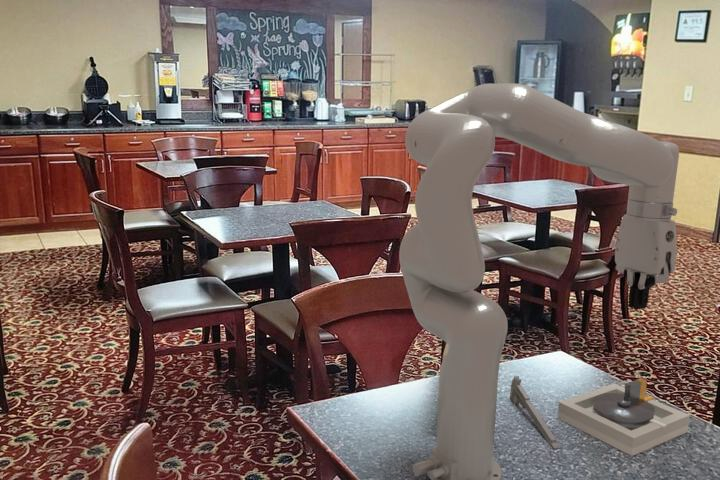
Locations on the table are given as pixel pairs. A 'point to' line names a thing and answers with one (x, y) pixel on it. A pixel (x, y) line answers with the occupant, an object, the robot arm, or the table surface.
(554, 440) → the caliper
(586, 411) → the tray
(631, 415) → the grey round piece
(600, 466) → the table surface
